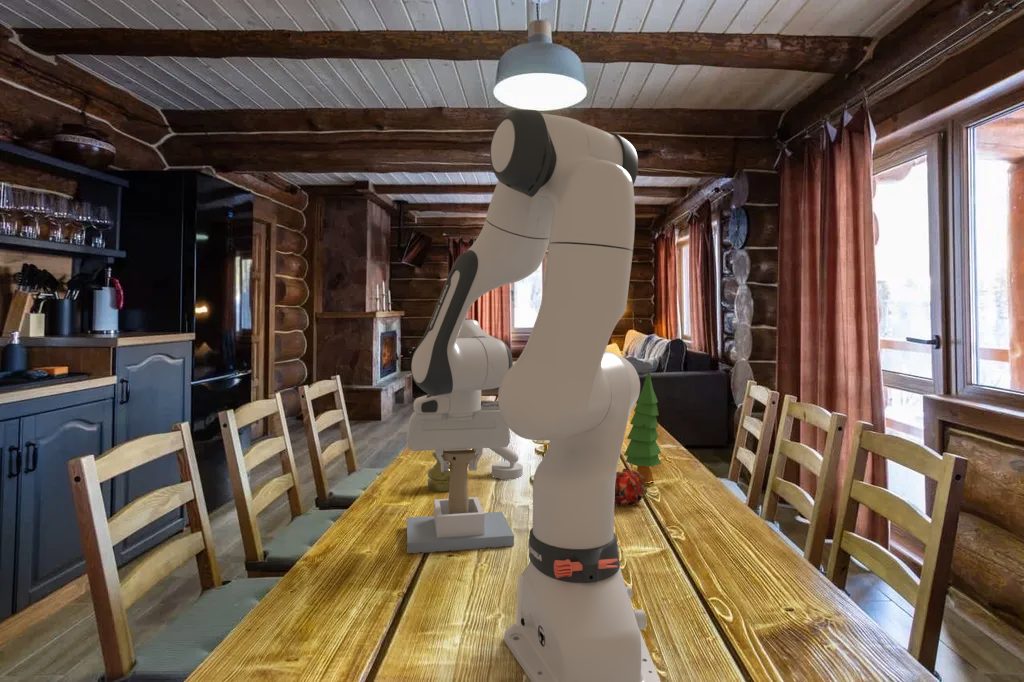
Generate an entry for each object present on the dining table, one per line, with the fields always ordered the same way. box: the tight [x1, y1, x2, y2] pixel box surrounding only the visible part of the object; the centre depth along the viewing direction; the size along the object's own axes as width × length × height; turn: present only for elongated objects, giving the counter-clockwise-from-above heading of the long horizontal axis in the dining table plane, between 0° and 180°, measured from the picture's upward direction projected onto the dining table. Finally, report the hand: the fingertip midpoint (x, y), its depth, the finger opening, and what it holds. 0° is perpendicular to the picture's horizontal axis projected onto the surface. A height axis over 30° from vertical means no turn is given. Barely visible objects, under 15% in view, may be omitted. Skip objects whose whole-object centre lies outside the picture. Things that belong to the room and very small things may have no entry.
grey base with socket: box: [406, 496, 515, 554], centre depth 109 cm, size 13×20×6 cm, turn 101°
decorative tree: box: [623, 370, 662, 482], centre depth 146 cm, size 10×9×30 cm
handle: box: [443, 449, 476, 514], centre depth 108 cm, size 5×6×15 cm
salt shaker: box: [427, 451, 450, 493], centre depth 139 cm, size 7×7×10 cm
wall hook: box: [489, 446, 524, 480], centre depth 151 cm, size 9×10×10 cm
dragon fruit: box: [615, 468, 648, 506], centre depth 129 cm, size 8×8×12 cm
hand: (458, 470), depth 108 cm, fingers closed on handle, 4 cm apart
